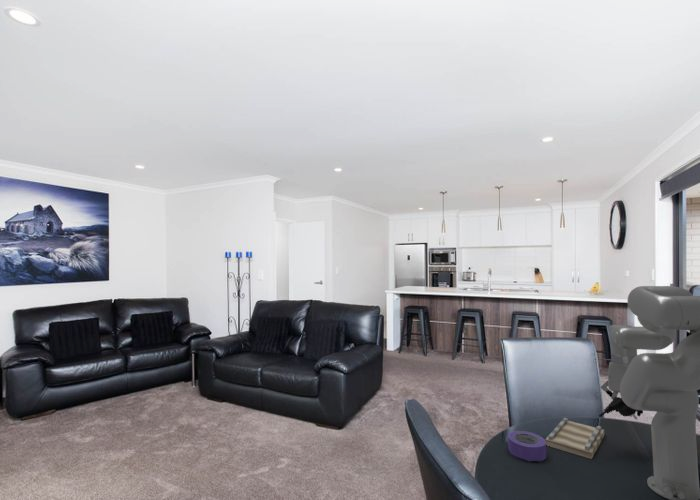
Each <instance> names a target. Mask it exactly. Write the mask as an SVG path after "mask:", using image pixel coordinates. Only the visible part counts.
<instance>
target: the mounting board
mask: <svg viewBox="0 0 700 500" xmlns="http://www.w3.org/2000/svg"><path fill="white" fill-rule="evenodd" d="M605 435H606V433H605V429H604V428H603V429H602V426H600V425H597V426H596V427H594V426H592V425H591V426H590V425H587V424H583V423H579V422H574V421H571V420H569V418H566V417H563V418H562V420H561V421H560V422H559V423H558V424H557V425H556V427H555V428H554V429H553V430H552V431H551V432H550V433H549V435H547V437H546V438H544V440H545V442H546V445H547V446H546V447H549V446H550V448H554V449H557V450H559V451H560V450H561V451H563V452H566V453H570V454H573V455H576V456H580V457H583V458H587V459H589V460H592V459H594V455H595V453H596V452H597V451H598V448H599V446H600V445H601V443H602V440H603V439H604V438H605Z"/></svg>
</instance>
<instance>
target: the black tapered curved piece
mask: <svg viewBox="0 0 700 500" xmlns="http://www.w3.org/2000/svg"><path fill="white" fill-rule="evenodd" d="M615 410H618V412H617V413H619V415H621V416H623V417H633V418H634V420H638V416H637V415H636V413H637V410H636V409H632V408H630V407H629V406H627V405H626V404H625V403H624V402H623V400H622V398H621V396H619V397H618V396H617V398H616V399H614V400H613V399H612V400H611V401H610V403H609V404H608V405H607V406H606V407H604V409H603V412H601V413H600V414H599V415H598V416H599V418H601V417H602V416H604V415H605V414H610V413H613V412H615Z"/></svg>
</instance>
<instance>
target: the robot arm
mask: <svg viewBox="0 0 700 500" xmlns="http://www.w3.org/2000/svg"><path fill="white" fill-rule="evenodd" d="M627 306H628V309H629V310H630V312H631V313H632V314H633V315H635V316H636V317H637V320H638V322H639V324H640V325H641V326H633V325H628V324H618V323H617V324H612V325H610V326H609V328H608V329H609V330H608V331H609V342H610V343H609V345H610V361H609V363H608V371H607V373H608V374H607V381H605V382H604V383H603V384H602V385H601V386H600V389H601V390H602V391H604V393H606V394H607V395H608V396H609V397H610V398H611V400H612V401H613V400H614V399H616V398H617V397H618V395H619V393H620V398H622V400H623V402H624V403H625V404H626V405H627V406H629V407H630V408H632V409H636V410H637V411H636V417H641V415H643V413H644V411H645V412H656V413H655V414H654V415H653V417H652V420H651V422H650V423H651V425H650V429H651V430H650V431H651V433H650V434H651V449H652V467H653V468H652V469H653V475H651V476H649V477H648V478H647V486H648V487H649V488H650V490H651V491H653V492H654V493H656V494H657V495H659V496H660V497H663V498H664V499H667V500H700V480H699V467H698V466H699V463H698V449H697V448H698V447H697V445H698V444H697V430H696V425H697V421H696V420H697V413H698V409H699V401H700V399H699V398H700V397H699V394H698V391H699V390H700V295H693V294H692V292H690V291H689V290H687V289H686V288H683V287H679V286H674V285H673V286H672V285H642V286H641V285H640V286H637V287H634V288H633V289H632V290H631V291H630V292H629V294H628V296H627ZM679 330H680V331H696V332H694V333H691V334H689V335H688V336H686V337H685V338H683V339H682V340H681V341H680V342H678V344H677V346H676V348H675V349H674V350H673V351H672V352H668V353H667V352H666V353H657V352H644V353H639V354H638V350H644V351H645V350H648V351H660V350H661V351H662V350H663V349H666V348H668V347H669V346H670V345H672V344H673V343H674V342H675V340H676V338H677V331H679ZM614 412H616V413H619V412H618V410H614Z"/></svg>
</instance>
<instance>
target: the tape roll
mask: <svg viewBox="0 0 700 500" xmlns="http://www.w3.org/2000/svg"><path fill="white" fill-rule="evenodd" d="M507 440H508V441H507V444H508V449H509V450H508V449H507V450H508V452H509V451H510V452H511V453H512V454H513V455H515V456H517V457H519V458H522V459H525V460H529V461H528V462H531V461H539V462H543V461H545V460H546V459H547V446H546V442H545V438H543V437H542V436H541V435H538V434H536V433H534V432H530V431H524V430H516V431H515V430H514V431H511V432H509V433H508V434H507ZM510 452H509V453H510ZM511 453H510V454H511ZM512 454H511V455H512ZM513 455H512V456H513ZM515 456H514V457H515ZM517 457H516V458H517ZM519 458H518V459H519ZM522 459H521V460H522ZM544 459H545V460H544ZM525 460H524V461H525ZM542 460H543V461H542Z"/></svg>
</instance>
